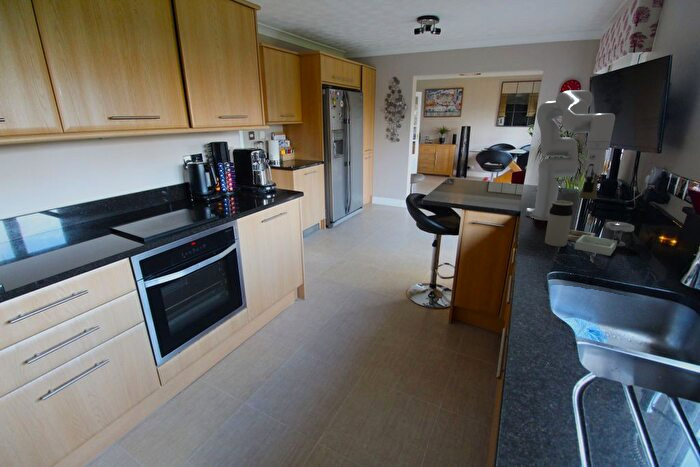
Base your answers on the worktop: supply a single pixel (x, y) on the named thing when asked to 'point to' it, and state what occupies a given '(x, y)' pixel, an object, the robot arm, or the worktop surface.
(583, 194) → the brown rounded lump
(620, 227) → the grey pedestal stand
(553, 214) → the travel mug
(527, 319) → the worktop surface
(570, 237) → the socket
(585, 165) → the robot arm
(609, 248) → the tray
